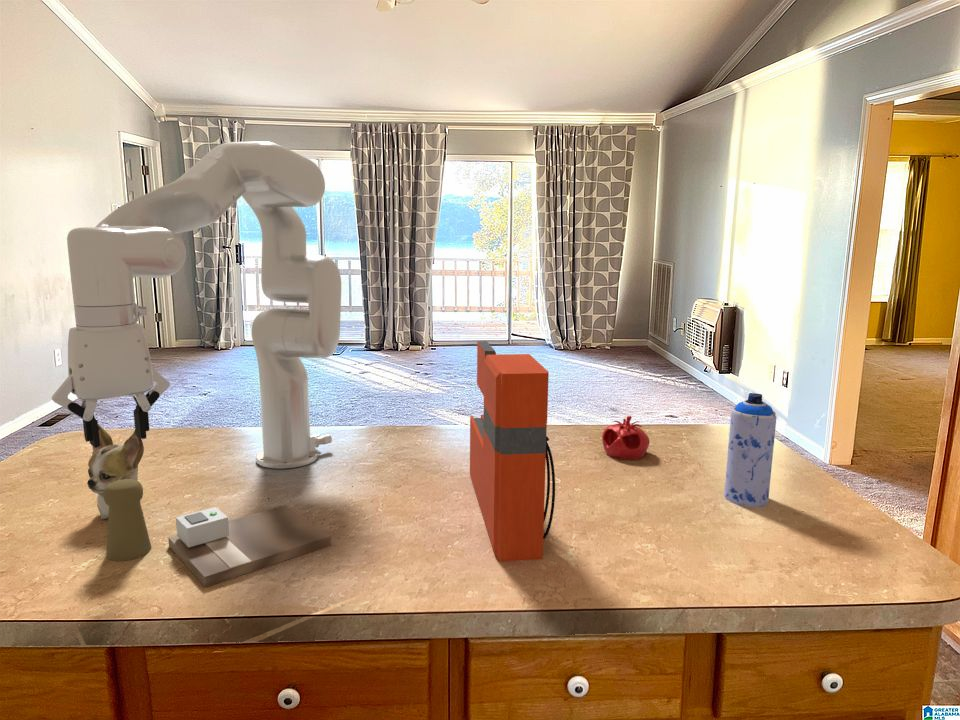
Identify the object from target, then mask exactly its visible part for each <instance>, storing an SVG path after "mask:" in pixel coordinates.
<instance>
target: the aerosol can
mask: <svg viewBox="0 0 960 720" xmlns="http://www.w3.org/2000/svg"><path fill="white" fill-rule="evenodd" d="M776 415H777V413H776V411H775V410H774V409H773V408H772V406H771V405H769V404H767V403H766V402H765V401H763V394H761V393H755V392H750V393H748V396H747V399H744V400H743V401H740V402H738V403H737V404H736V406H734V407H733V408H732V409H731V412H730V421H729V422H730V423H729V433H728V446H727V456H726V457H727V458H726V459H727V460H726V471H725V481H724V490H723V491H724V493H723V496H724V498H725V499H726V500H727V501H729V503H731V504H734V505H736V506H739V507H744V508H745V507H746V508H762V507H766V506H767V504H768V503H769V495H770V488H771V478H772V477H771V476H772V468H773V458H774V457H773V456H774V446H775V437H776V436H775V435H776V427H777V416H776Z"/></svg>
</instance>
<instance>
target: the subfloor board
mask: <svg viewBox="0 0 960 720" xmlns="http://www.w3.org/2000/svg"><path fill="white" fill-rule="evenodd" d="M228 523H229V536H227V537H223V538H220V539H216V540H213V541H209V542H206V543H203V544H199V545H196V546H192V547H189V548H188V547H187V545H186V544H185V543H184V542H183V541H182V540H181V539H180V538H179V537H178V536H177V534H175V535H172V536H168V537H167V539H168V547H169V548H170V550H172V551H173V553H174V554H175V555H176V556H177V557H178V558H179V559H180V560H181V562H182V563H183V564H185V566H186V568H188V569H189V570H190V572H192V574H193V575H194V576H195V577H196V579H198V580H199V582H200V583H201V584H202V585H203V587H205V588H207V587H209V586H212V585H216V584H219V583H222V582H224V581H228V580H231V579H234V578H236V577H240V576H242V575H245V574H250V573H252V572H254V571H258V570H260V569H264V568H266V567H270V566H272V565H275V564H279V563H281V562H284V561H287V560H290V559H293V558H296V557H300V556H302V555H305V554H308V553H311V552H314V551H316V550H320V549H323V548H327V547H329V546H331V545H332V541H331V540H332V539H331V538H332V537H331V535H330V534H329V533H327V532H326V531H324V530H322V529H321V528H320V527H318V525H317V526H316V525H315V524H314V523H312V522H311V521H310V520H309V519H307V518H305V517H304V516H302V515H301V514H300V513H298V512H296V510H294V509H292V508H291V507H289V506H288V505H287V504H283V505H279V506H275V507H273V508H268V509H264V510H262V511H258V512H253V513H251V514H247V515H244V516H241V517H237V518H233V519H228Z"/></svg>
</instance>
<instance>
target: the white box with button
mask: <svg viewBox="0 0 960 720" xmlns="http://www.w3.org/2000/svg"><path fill="white" fill-rule="evenodd" d="M228 521H229V516H227V515H226V514H225V513H224V512H223V511H221V510H220V509H219V508H218V507H217V506H214V507H211V508H206V509H203V510H198V511H194V512H191V513H188V514H183V515H180V516H176V517H175V523H176V535H177V536H178V537H179V538H180V539H181V540H182V541H183V542H184V543H185V544H186V545H187V547H188V548H189V547H192V546H196V545H199V544H203V543H206V542H209V541H213V540H216V539H220V538H223V537H227V536H229V523H228Z"/></svg>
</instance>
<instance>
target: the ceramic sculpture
mask: <svg viewBox="0 0 960 720" xmlns="http://www.w3.org/2000/svg"><path fill="white" fill-rule="evenodd" d="M98 429H99V439H100V446H99V447H96V448H94V447H93V446H92V455H91V456H90V458H89V460H88V464H87V465H88V469H87V473H88V476H89V479H88V480H87V487H88V489H90V491H91V492H93V493H94V494H97V498H96V503H97V504H96V505H97V509H98V513H99V514H100V519H101V520H106V519H108V516H109V506H108V505H107V504H106V503H105V501H104V497H103V494H104V489H105V488H106V486H107V485H109V484H110V483H112V482H115V481H118V480H123V479H133V480H137V481H139V476H138V473H139V472H138V471H139V464H140V463H141V460H142V458H143V455H144V452H145V446H144V443H143V439H142V438H139V437H138V436H137V435H136V433H135V430H134V431H133V432H132V434H131V435H130V436H129V438H127V439H126V440H125V441H124V443H123V444H114V442H113V439H112V438H113V437H111V435H110V433H108V431H107V430H106V429H104V427H102V426H101V425H100V424H99V423H98Z"/></svg>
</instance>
